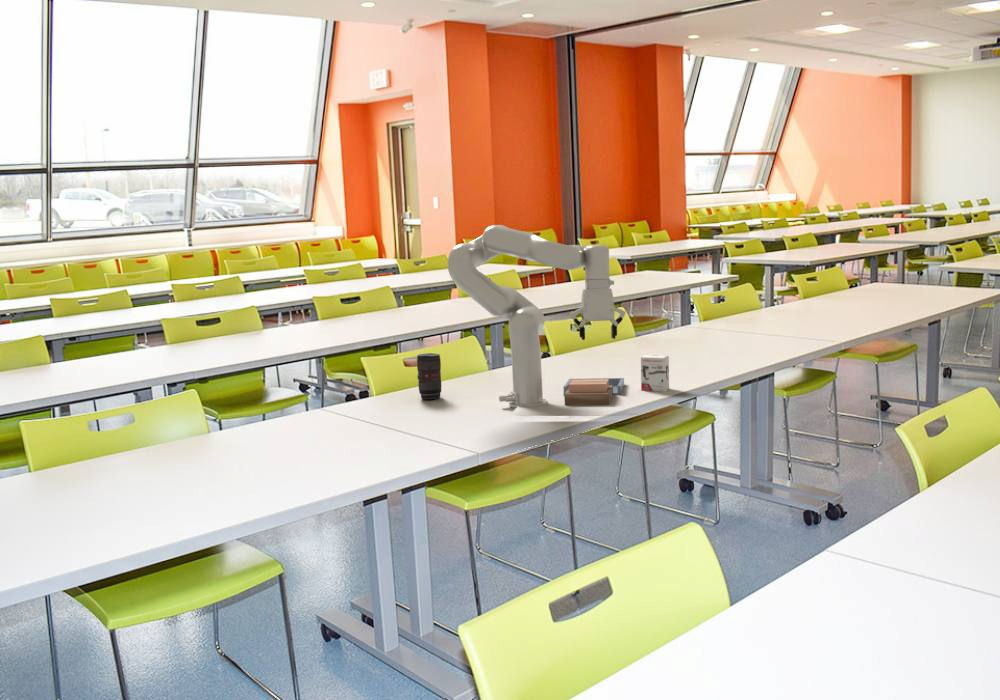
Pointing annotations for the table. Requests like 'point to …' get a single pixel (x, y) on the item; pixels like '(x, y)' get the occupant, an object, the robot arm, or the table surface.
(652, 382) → the ink box
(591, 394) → the plate
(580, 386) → the tile
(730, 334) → the table surface
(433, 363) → the camera lens
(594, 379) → the tile
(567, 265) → the robot arm
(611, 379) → the tray
